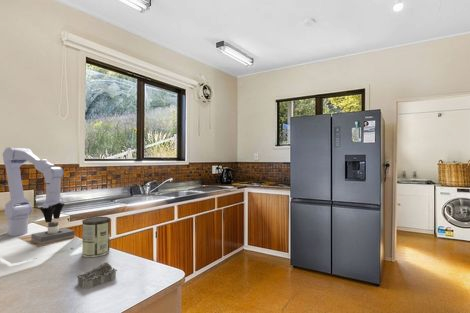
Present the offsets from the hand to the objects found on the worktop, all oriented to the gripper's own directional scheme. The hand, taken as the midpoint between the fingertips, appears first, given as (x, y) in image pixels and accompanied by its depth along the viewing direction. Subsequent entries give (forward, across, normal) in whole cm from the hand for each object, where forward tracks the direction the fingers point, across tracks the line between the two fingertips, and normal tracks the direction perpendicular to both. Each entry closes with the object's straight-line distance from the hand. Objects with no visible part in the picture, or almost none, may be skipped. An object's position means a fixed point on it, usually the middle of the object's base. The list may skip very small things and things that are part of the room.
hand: (52, 220), depth 128 cm
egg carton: (+10, -49, -35) cm, 61 cm away
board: (+9, 0, +2) cm, 10 cm away
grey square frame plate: (+8, -2, -1) cm, 9 cm away
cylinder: (+7, -2, -1) cm, 8 cm away
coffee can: (+9, -22, -26) cm, 36 cm away
